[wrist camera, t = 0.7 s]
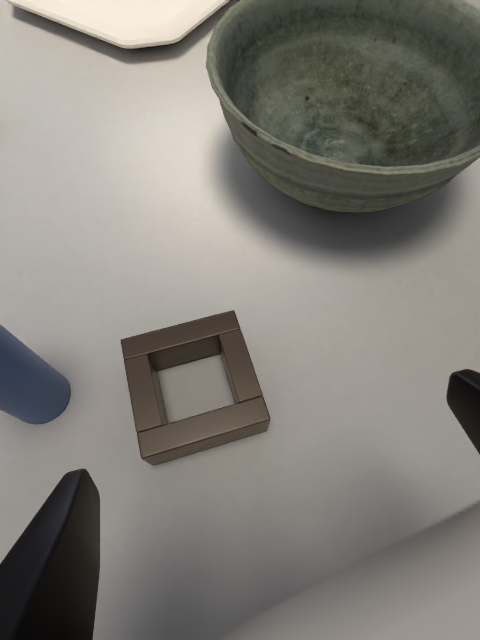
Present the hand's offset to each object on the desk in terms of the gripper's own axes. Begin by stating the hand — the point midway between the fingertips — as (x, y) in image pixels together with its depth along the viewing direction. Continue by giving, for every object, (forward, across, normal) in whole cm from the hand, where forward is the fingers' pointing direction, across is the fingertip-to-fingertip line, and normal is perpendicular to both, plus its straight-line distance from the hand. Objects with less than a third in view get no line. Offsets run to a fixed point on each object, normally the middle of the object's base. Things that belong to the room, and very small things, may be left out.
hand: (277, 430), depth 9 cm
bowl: (+27, -13, +1) cm, 30 cm away
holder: (+13, +3, +9) cm, 16 cm away
